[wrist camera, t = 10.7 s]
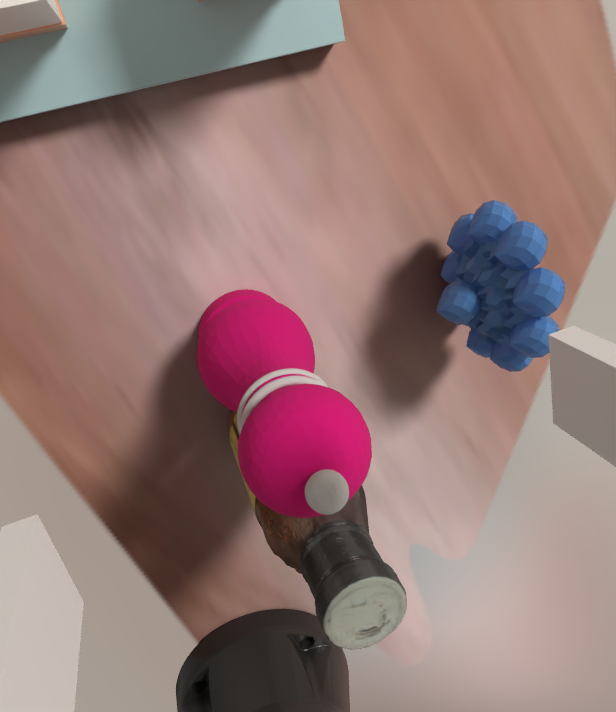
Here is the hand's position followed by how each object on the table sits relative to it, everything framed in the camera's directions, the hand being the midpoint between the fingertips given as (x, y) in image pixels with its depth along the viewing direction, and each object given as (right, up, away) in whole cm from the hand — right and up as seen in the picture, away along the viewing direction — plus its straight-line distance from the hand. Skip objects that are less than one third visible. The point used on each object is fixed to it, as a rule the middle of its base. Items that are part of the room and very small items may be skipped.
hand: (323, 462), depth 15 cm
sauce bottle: (-3, -2, +29) cm, 29 cm away
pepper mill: (-5, +4, +26) cm, 27 cm away
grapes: (+9, +9, +29) cm, 31 cm away
